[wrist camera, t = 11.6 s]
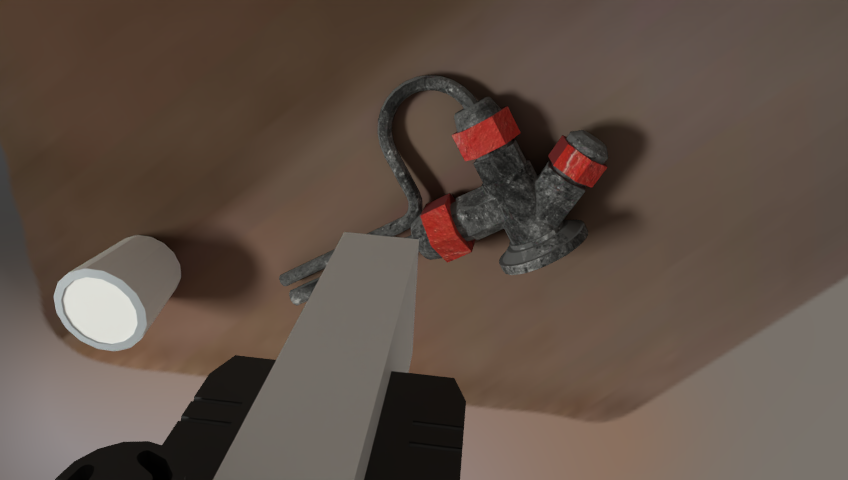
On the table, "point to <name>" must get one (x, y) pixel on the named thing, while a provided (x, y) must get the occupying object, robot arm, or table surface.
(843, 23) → the table surface
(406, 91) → the valve
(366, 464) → the robot arm
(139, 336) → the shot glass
